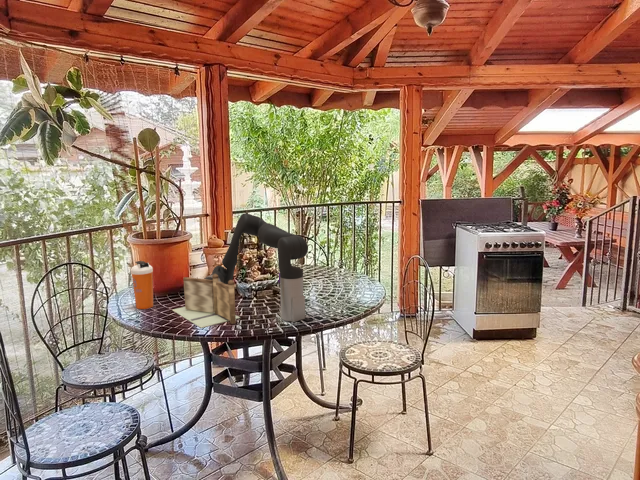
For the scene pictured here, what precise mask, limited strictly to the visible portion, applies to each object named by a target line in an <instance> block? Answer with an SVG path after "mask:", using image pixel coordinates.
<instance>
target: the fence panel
mask: <svg viewBox="0 0 640 480" xmlns="http://www.w3.org/2000/svg"><path fill="white" fill-rule="evenodd" d="M182 279H183V293H184V307H185V309H188V310H196V311H203V312H211V313H214V295H213V280H208V279H204V278H197V277H183V278H182Z"/></svg>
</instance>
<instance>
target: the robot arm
mask: <svg viewBox="0 0 640 480" xmlns="http://www.w3.org/2000/svg"><path fill="white" fill-rule="evenodd" d="M243 234H247V235H251V236H256V237H258V240H259V241H260V242H261V243H262V244H264V245H266V247H267V246H268V247H270V248H272V249H273V248H274V249H277V250H276V251H277V259H278V260H277V262H278V270H279V273H280V283H279V291H280V292H279V293H280V296H279V297H280V318H281V320H282V321H286V322H292V323H295V322H299V321H302V320H305V319H306V297H305V296H306V295H304V270H303V269H302V268H301V267H299V266H295V265H293V264H292V261H293V260H300V259H302V258H304V257H306V256H307V255H308V251H309V245H308V243H307V241H306V239H304V237H303V236H301V235H298V234H294V233H290V232H288V231H286V230H284V229H283V228H280V227H278V226H276V225H275V224H272V223H269V222H268V223H267V222H266V221H265V220H264V219H263V218H262V217H260V216H257V215H253V214H249V213H246V212H245V213H242V214H241V215H240V216H239V218H238V220H237V222H236V225H235V228H234V232H233V234H232V237H231V241H230V244H229V245H228V249H227V250H226V253H225V254H224V256H223V258H222V260H221V264H222V265H216V266H215V267H214V268H213V270H212V273H211V274H210V275H207V276H205V277H204V278H203V279H208V280H213V278H212V276H213V274H217V275H218V281H220V282H222V283H225V284H227V285H228V281H229V280H233V279H234V276H235V271H236V266H237V264H238V262H237V255H238V246H239V239H240V240H241V238H242V235H243ZM240 237H241V238H240ZM236 263H237V264H236Z"/></svg>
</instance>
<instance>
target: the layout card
mask: <svg viewBox="0 0 640 480" xmlns="http://www.w3.org/2000/svg"><path fill="white" fill-rule="evenodd" d="M171 311H173V312H174V313H176V314H177V315H178V316H180V317H182V318H184V319H185V320H187V321H188V322H190V323H192V324H193V325H195V326H197V327H198V328H200V329H203V328H207V327H211V326H215V325H219V324H223V323H226V322H227V323H228V322H230V320H228V319H226V318H224V317H222V316H220V315H219V314H218V315H215V313H211V312H203V311H196V310H188V309H185V306H182V307H178V308H174V309H172V310H171ZM235 315H236V314H235ZM238 319H241V317H240V316H238V315H236V320H238Z"/></svg>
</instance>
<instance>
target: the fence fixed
mask: <svg viewBox="0 0 640 480" xmlns="http://www.w3.org/2000/svg"><path fill="white" fill-rule="evenodd" d="M212 278H213V295H214V313H215V315H218V314H219V315H220V316H222V317H224V318H226V319H228V320H230V321H229V324H231V325H234V324H236V323H237V322H236V320H237V319H236V297H235V296H236V295H235V281H234V280H233V279H232V280H229V281H228V284H225V283H222V282H220V281H218V275H217V274H213V276H212Z"/></svg>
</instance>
